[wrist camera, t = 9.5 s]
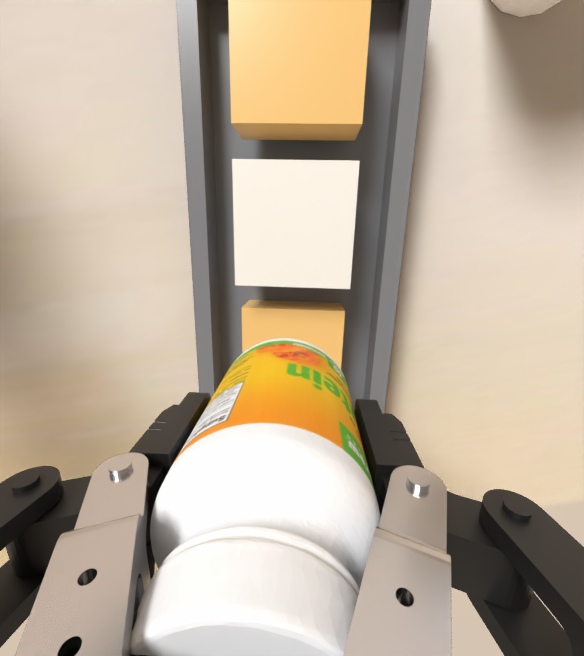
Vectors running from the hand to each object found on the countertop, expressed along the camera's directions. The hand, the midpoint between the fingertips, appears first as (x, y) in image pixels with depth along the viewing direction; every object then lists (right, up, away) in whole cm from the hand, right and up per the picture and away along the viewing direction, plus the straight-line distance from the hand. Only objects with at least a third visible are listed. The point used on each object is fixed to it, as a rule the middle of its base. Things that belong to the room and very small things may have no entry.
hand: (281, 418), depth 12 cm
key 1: (+1, +16, +4) cm, 17 cm away
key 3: (+1, +2, +10) cm, 10 cm away
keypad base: (+1, +6, +10) cm, 12 cm away
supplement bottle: (0, +1, +2) cm, 2 cm away
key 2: (+1, +9, +6) cm, 11 cm away
